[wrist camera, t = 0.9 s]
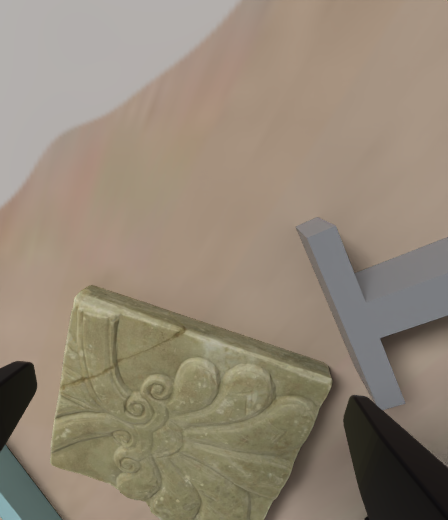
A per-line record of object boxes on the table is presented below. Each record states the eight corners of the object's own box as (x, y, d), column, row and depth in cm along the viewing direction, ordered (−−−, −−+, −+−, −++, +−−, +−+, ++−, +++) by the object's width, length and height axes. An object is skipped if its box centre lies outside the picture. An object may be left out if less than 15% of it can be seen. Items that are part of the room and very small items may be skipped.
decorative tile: (92, 279, 23) (64, 295, 19) (328, 357, 22) (342, 388, 19) (61, 447, 28) (34, 484, 25) (253, 514, 28) (253, 560, 24)
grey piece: (520, 313, 20) (595, 349, 15) (354, 366, 22) (379, 411, 18) (473, 147, 17) (547, 134, 13) (295, 226, 20) (306, 237, 15)
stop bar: (87, 553, 31) (73, 584, 28) (73, 557, 31) (58, 587, 29) (-60, 359, 26) (-92, 377, 24) (-74, 366, 26) (-107, 384, 24)
